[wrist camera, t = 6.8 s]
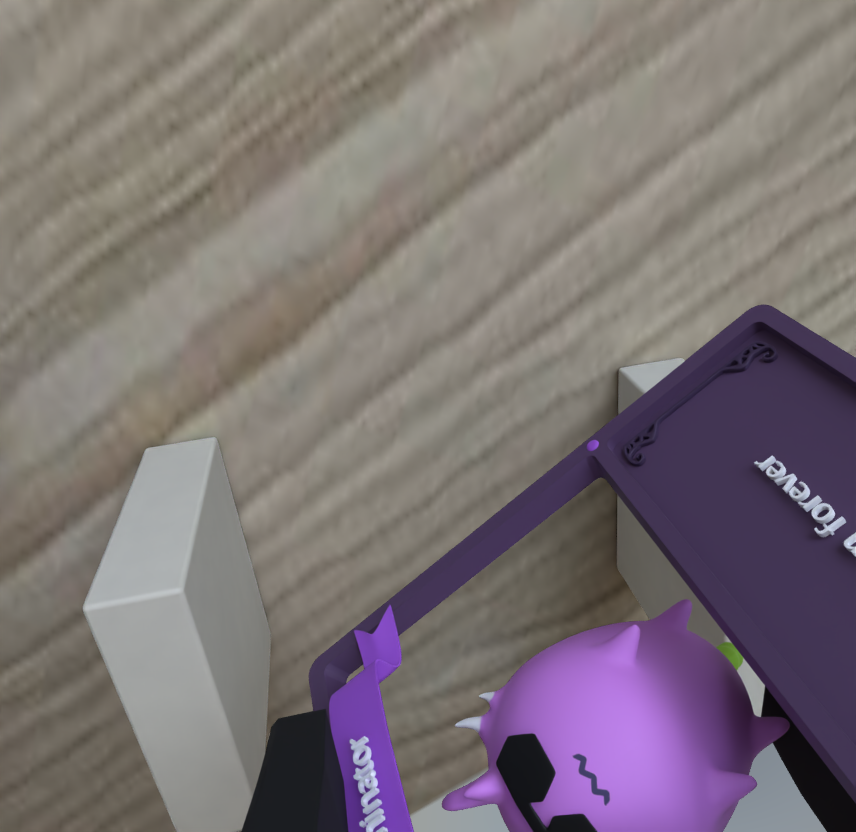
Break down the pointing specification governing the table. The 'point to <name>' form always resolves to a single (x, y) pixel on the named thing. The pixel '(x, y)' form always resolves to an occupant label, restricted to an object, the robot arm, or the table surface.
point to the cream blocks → (250, 623)
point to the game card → (667, 633)
